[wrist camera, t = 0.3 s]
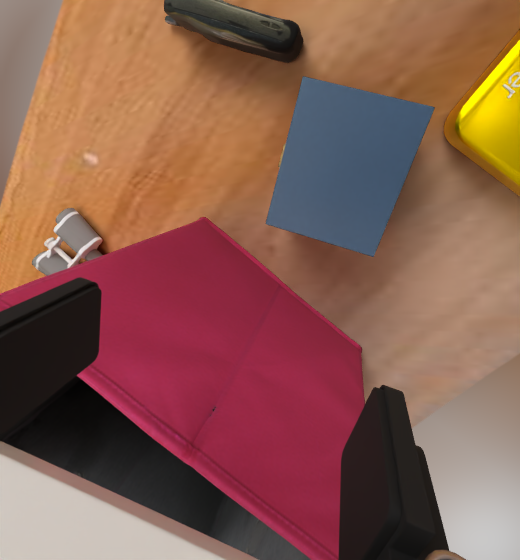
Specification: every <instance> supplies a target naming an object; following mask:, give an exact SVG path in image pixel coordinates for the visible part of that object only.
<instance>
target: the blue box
mask: <svg viewBox="0 0 520 560" xmlns="http://www.w3.org/2000/svg"><path fill="white" fill-rule="evenodd" d="M434 108H435V107H431V106H427V105H423V104H419V103H414V102H410V101H406V100H402V99H397V98H393V97H389V96H385V95H380V94H376V93H372V92H368V91H363V90H359V89H355V88H351V87H346V86H342V85H338V84H334V83H329V82H325V81H321V80H317V79H312V78H308V77H304V76H303V78H302V82H301V86H300V90H299V94H298V98H297V102H296V106H295V110H294V114H293V117H292V121H291V125H290V129H289V133H288V137H287V141H286V144H284V146H283V150H282V154H281V158H280V161H279V165H278V167H280V169H279V173H278V177H277V181H276V185H275V188H274V192H273V196H272V200H271V204H270V208H269V212H268V216H267V220H266V224H267V225H271V226H274V227H277V228H281V229H284V230H287V231H290V232H294V233H297V234H300V235H303V236H307V237H310V238H313V239H316V240H320V241H323V242H326V243H330V244H333V245H336V246H339V247H343V248H346V249H349V250H352V251H356V252H359V253H362V254H365V255H369V256H372V257H374V255H375V252H376V250H377V247H378V245H379V242H380V240H381V238H382V235H383V233H384V230H385V228H386V225H387V223H388V221H389V218H390V216H391V213H392V211H393V208H394V206H395V203H396V201H397V199H398V196H399V194H400V191H401V189H402V186H403V184H404V181H405V179H406V177H407V174H408V172H409V169H410V167H411V164H412V162H413V160H414V157H415V155H416V152H417V150H418V147H419V145H420V142H421V140H422V138H423V135H424V133H425V130H426V128H427V125H428V123H429V121H430V118H431V116H432V113H433V111H434Z"/></svg>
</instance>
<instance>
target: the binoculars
mask: <svg viewBox="0 0 520 560" xmlns="http://www.w3.org/2000/svg"><path fill="white" fill-rule="evenodd" d="M56 223H57V225H56V227H55V228H54V232H55V233H56V234H57V235H58V238H57V239H56V240H55V239H54V238H49V239H48V240H46V241H45V243H44V245H45V246H46V247H47V248H48V249H49V250H48V251H44V252H42V253H40V254H38V255H37V256H36V257H35V258H34V259H33V261H32V265H34V266H35V267H36V268H37V269H38V270H39V271H41V272H42V273H44V274H45V275H46V276H48V275H51V274H54V273H56V272H59V271H62V270H65V269H67V268H70V267H73V266H76V265H78V263H79V260H80V259H81V258H83V259H86V260H87V261H89V260H92V259H95V258H97V257H100V256H103V255H102V254H101V253H100V252H99V251H98V250H97V248H98V246H99V245H100V244H101V242H102V241H103V240H102V238H101V237H99V236H98V234H97V233H96V232H95V231H94V230H93V229H92V228H91V226H90V225H89V224H88V223H87V222H86V221H85V220H84V218H83V217H82V216H81V215H80V214H79V213H78V212H77V211H76V210H75V209H74V208H68V209H65V210H63V211H62V212H61V213H60V214H59V215H58V216H57V218H56ZM62 241H65V242H66V243H67V244H68V245H69V246H70V247H71V248H72V249H73V250H74V251H75V252H76V253H77V255H76V257H75V258H74V259H73V260H72V259H71V258H70V257H69V256H68V255H67V254H66V253H65V252H64V251H63V250H62V249H60V248H59V247H60V245H61V242H62Z"/></svg>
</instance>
